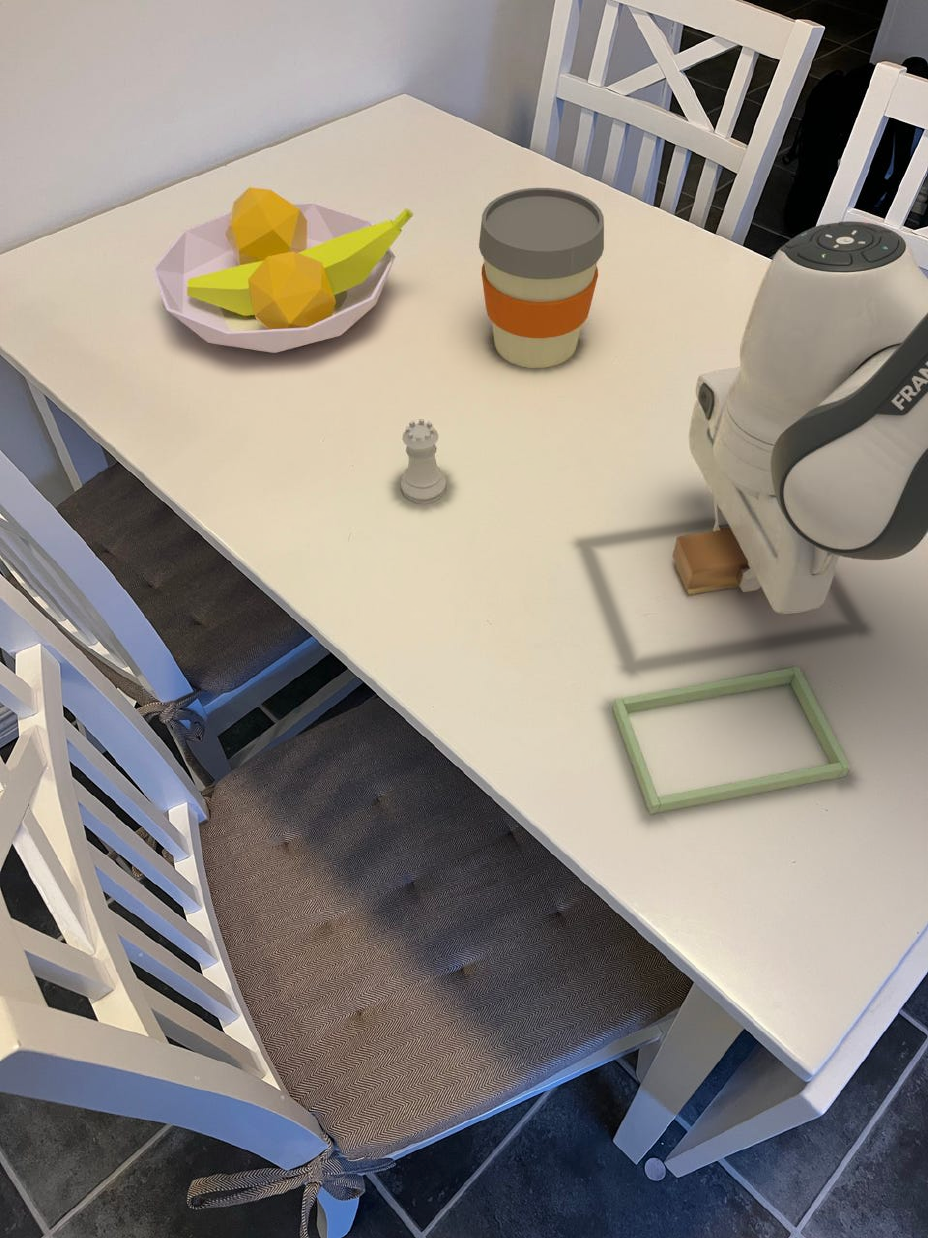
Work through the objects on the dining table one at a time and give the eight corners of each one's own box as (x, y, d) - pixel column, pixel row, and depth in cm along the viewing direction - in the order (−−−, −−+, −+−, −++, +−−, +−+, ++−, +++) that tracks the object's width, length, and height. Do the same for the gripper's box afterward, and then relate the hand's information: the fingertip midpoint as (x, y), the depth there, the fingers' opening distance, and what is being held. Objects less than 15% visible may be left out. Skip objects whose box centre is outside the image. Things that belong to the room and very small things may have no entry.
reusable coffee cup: (513, 302, 106) (517, 175, 94) (610, 334, 102) (628, 205, 90) (458, 360, 100) (455, 230, 88) (559, 396, 96) (571, 266, 84)
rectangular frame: (792, 680, 74) (798, 666, 72) (842, 780, 68) (851, 767, 66) (611, 712, 72) (614, 699, 70) (648, 818, 66) (652, 805, 65)
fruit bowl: (129, 363, 100) (95, 269, 91) (226, 235, 116) (205, 144, 107) (372, 400, 96) (361, 305, 87) (437, 261, 112) (433, 169, 103)
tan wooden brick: (776, 547, 82) (787, 519, 79) (794, 581, 79) (806, 553, 76) (669, 564, 81) (677, 536, 78) (684, 599, 78) (692, 571, 75)
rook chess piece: (452, 481, 88) (450, 416, 82) (439, 513, 86) (436, 449, 79) (409, 473, 89) (403, 408, 83) (394, 504, 86) (388, 440, 80)
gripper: (882, 532, 62) (821, 650, 73) (763, 352, 74) (726, 476, 85) (795, 546, 61) (747, 663, 72) (690, 363, 73) (662, 486, 84)
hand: (735, 561), depth 79 cm, fingers closed on tan wooden brick, 4 cm apart
